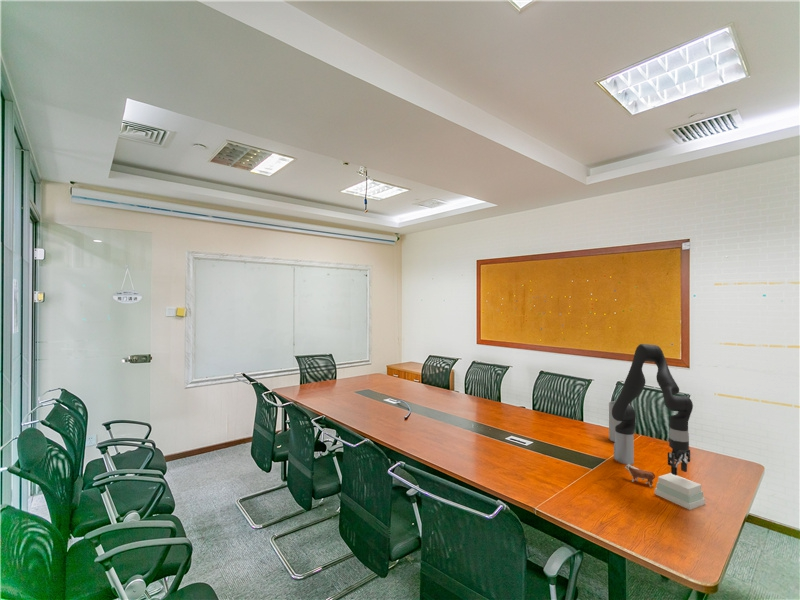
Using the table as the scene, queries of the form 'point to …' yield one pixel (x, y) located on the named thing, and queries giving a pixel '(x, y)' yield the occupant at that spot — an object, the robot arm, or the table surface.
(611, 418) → the cylinder vase
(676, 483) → the white stepped block
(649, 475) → the bull figurine
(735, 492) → the table surface
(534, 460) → the table surface
